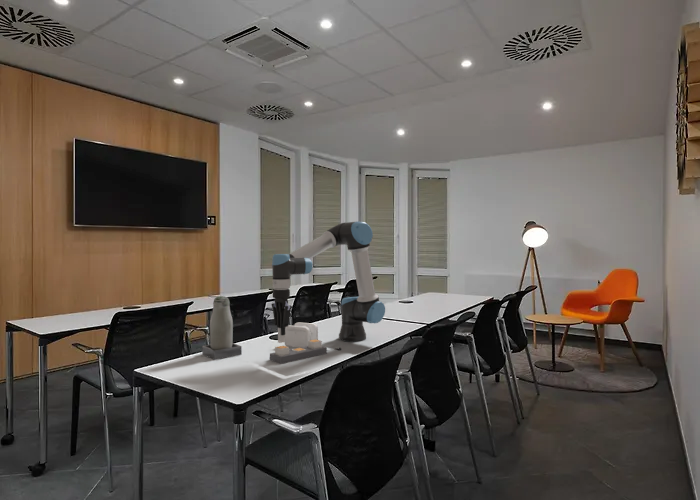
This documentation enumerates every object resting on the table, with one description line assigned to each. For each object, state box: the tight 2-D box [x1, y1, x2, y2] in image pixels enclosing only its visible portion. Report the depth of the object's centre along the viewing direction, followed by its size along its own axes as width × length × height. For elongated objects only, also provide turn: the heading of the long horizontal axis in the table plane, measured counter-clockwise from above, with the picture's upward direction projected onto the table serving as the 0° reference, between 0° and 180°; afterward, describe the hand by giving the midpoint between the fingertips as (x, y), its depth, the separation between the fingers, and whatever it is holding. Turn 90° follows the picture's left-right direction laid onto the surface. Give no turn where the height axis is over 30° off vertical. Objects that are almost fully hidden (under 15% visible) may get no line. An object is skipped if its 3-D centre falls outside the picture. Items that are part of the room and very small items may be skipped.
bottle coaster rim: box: [201, 342, 243, 361], centre depth 205 cm, size 14×14×4 cm
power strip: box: [269, 345, 342, 365], centre depth 199 cm, size 37×9×4 cm, turn 131°
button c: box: [274, 345, 290, 356], centre depth 189 cm, size 4×4×3 cm
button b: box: [291, 347, 306, 352], centre depth 195 cm, size 4×4×3 cm
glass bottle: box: [209, 295, 234, 350], centre depth 205 cm, size 10×10×28 cm
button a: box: [308, 339, 323, 349], centre depth 201 cm, size 4×4×3 cm
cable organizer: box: [284, 322, 319, 348], centre depth 217 cm, size 15×11×12 cm
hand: (281, 342), depth 189 cm, fingers closed
